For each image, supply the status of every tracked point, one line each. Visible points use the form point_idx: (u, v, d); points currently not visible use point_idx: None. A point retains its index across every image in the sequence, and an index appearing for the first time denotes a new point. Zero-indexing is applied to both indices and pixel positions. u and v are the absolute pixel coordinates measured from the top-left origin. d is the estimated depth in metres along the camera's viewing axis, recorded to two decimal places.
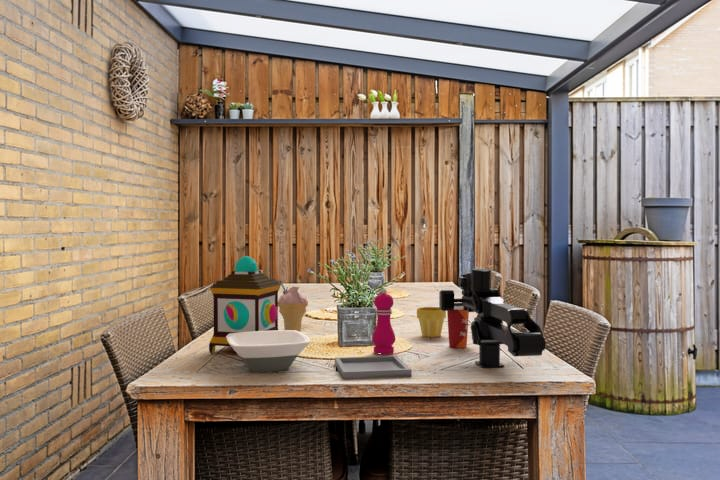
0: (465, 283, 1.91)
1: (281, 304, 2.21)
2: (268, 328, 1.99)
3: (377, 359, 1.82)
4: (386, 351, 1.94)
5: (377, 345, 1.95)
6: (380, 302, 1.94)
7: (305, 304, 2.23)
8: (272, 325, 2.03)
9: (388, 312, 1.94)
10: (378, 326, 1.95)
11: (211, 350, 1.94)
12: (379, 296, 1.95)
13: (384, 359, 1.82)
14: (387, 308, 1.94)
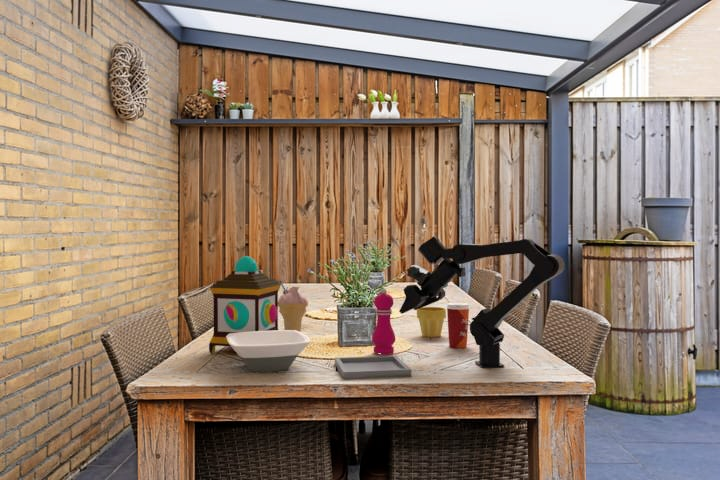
0: (418, 269, 1.87)
1: (281, 304, 2.21)
2: (268, 328, 1.99)
3: (377, 359, 1.82)
4: (386, 351, 1.94)
5: (377, 345, 1.95)
6: (380, 302, 1.94)
7: (305, 304, 2.23)
8: (272, 325, 2.03)
9: (388, 312, 1.94)
10: (378, 326, 1.95)
11: (211, 350, 1.94)
12: (379, 296, 1.95)
13: (384, 359, 1.82)
14: (387, 308, 1.94)
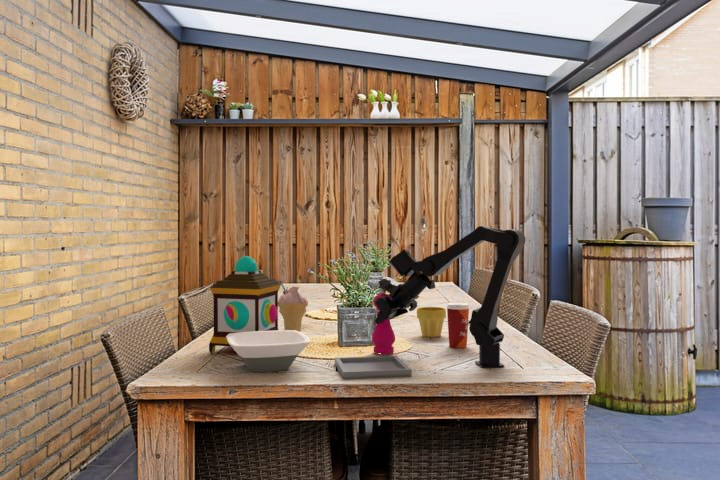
0: (390, 281, 1.92)
1: (281, 304, 2.21)
2: (268, 328, 1.99)
3: (377, 359, 1.82)
4: (386, 351, 1.94)
5: (377, 345, 1.95)
6: None
7: (305, 304, 2.23)
8: (272, 325, 2.03)
9: None
10: (378, 326, 1.95)
11: (211, 350, 1.94)
12: (378, 296, 1.95)
13: (384, 359, 1.82)
14: None
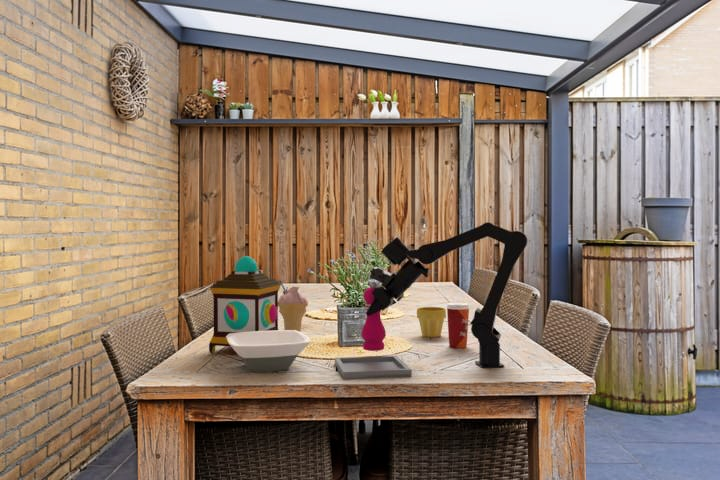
0: (383, 271, 1.84)
1: (281, 304, 2.21)
2: (268, 328, 1.99)
3: (377, 359, 1.82)
4: (378, 347, 1.86)
5: (368, 341, 1.86)
6: (372, 296, 1.85)
7: (305, 304, 2.23)
8: (272, 325, 2.03)
9: None
10: (369, 321, 1.87)
11: (211, 350, 1.94)
12: (370, 290, 1.86)
13: (384, 359, 1.82)
14: None
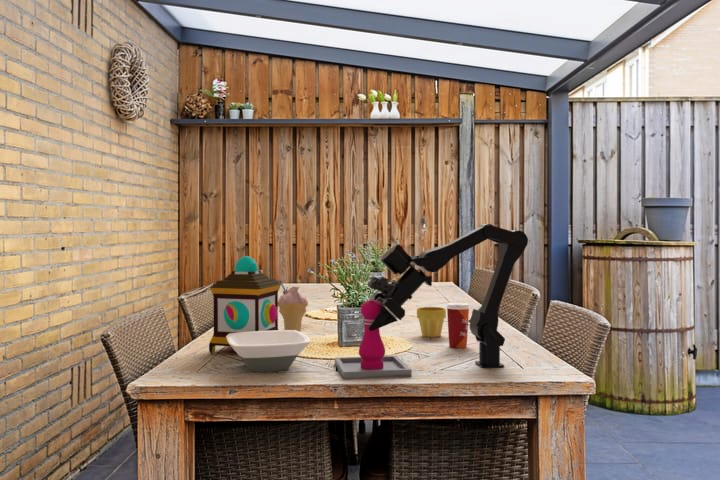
0: None
1: (281, 304, 2.21)
2: (268, 328, 1.99)
3: None
4: (381, 365, 1.72)
5: (371, 360, 1.71)
6: (374, 310, 1.70)
7: (305, 304, 2.23)
8: (272, 325, 2.03)
9: None
10: (371, 338, 1.71)
11: (211, 350, 1.94)
12: (371, 304, 1.71)
13: (384, 359, 1.82)
14: None
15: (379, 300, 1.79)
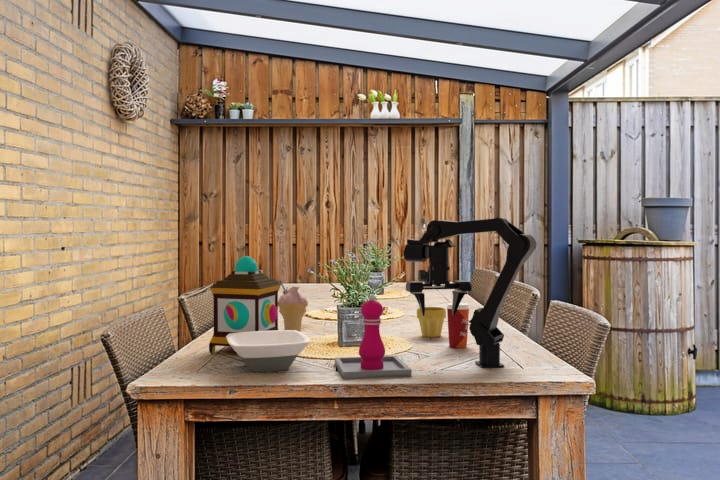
0: (424, 271, 1.92)
1: (281, 304, 2.21)
2: (268, 328, 1.99)
3: None
4: (381, 365, 1.72)
5: (371, 360, 1.71)
6: (374, 310, 1.70)
7: (305, 304, 2.23)
8: (272, 325, 2.03)
9: (380, 321, 1.73)
10: (371, 338, 1.71)
11: (211, 350, 1.94)
12: (371, 304, 1.71)
13: (384, 359, 1.82)
14: (379, 316, 1.72)
15: None
